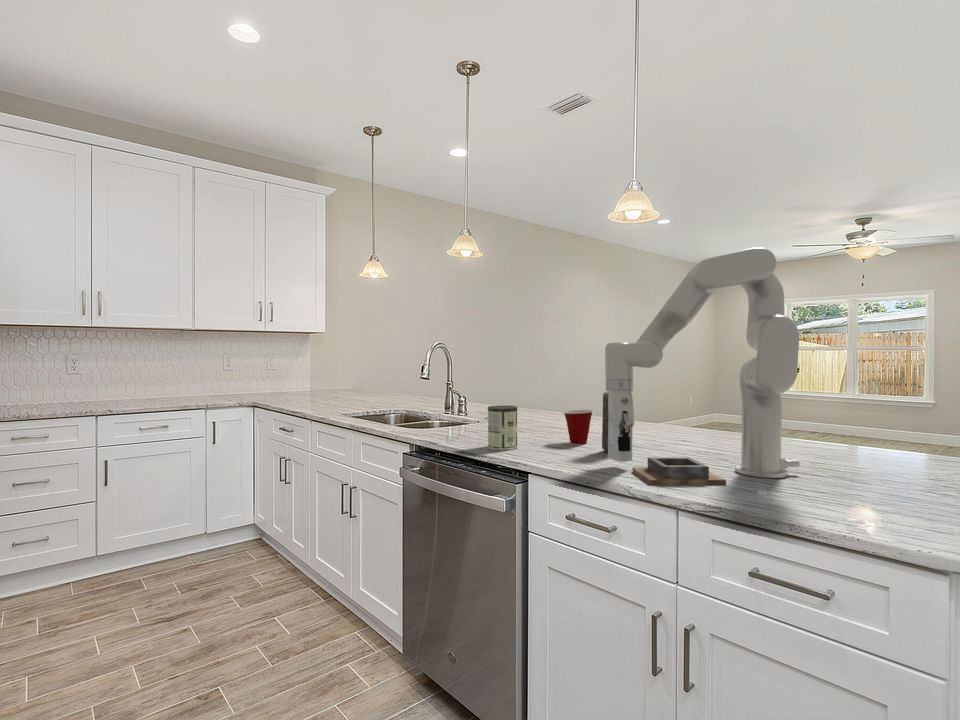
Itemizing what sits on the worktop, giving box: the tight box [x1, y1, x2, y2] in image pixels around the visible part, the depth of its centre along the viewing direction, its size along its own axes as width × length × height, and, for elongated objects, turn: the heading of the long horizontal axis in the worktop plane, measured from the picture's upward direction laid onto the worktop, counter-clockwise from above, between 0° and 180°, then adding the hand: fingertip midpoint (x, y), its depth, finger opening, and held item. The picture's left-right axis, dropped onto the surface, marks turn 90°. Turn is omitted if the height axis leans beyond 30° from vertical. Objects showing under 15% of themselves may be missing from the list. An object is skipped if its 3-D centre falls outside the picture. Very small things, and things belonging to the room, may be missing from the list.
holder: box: [632, 456, 727, 486], centre depth 135 cm, size 19×14×4 cm
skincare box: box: [607, 417, 634, 463], centre depth 146 cm, size 6×4×12 cm
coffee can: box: [487, 405, 519, 451], centre depth 178 cm, size 10×10×14 cm
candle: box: [601, 391, 609, 453], centre depth 169 cm, size 8×7×20 cm
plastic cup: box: [562, 409, 594, 445], centre depth 187 cm, size 11×11×12 cm
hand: (620, 447), depth 146 cm, fingers closed on skincare box, 7 cm apart
